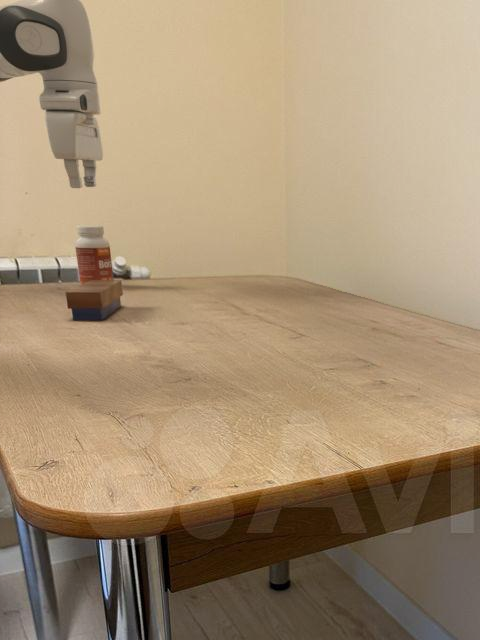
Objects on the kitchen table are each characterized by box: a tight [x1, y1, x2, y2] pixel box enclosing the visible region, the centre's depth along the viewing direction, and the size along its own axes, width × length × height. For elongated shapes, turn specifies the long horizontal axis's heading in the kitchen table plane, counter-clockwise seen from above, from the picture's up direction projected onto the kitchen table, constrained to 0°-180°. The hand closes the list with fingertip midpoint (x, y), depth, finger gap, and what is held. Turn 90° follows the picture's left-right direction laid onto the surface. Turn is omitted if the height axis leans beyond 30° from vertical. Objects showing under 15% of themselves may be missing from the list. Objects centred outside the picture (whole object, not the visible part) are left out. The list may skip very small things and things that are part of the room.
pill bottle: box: [74, 225, 115, 285], centre depth 134 cm, size 6×6×11 cm
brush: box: [65, 279, 124, 321], centre depth 110 cm, size 13×5×4 cm, turn 4°
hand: (83, 187), depth 129 cm, fingers open, 8 cm apart
